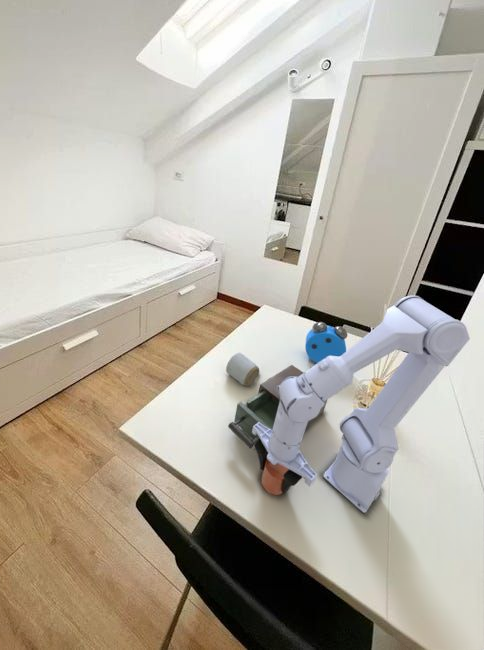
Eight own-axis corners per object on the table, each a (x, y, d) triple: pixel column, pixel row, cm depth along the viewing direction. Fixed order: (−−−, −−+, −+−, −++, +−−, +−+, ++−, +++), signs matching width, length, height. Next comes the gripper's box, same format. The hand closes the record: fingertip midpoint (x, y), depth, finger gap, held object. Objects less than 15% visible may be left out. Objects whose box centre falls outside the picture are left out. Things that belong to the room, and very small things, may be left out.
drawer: (254, 468, 65) (259, 448, 62) (219, 431, 72) (222, 412, 70) (301, 426, 76) (307, 408, 74) (267, 399, 84) (271, 381, 81)
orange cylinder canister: (290, 484, 63) (295, 469, 61) (275, 500, 60) (280, 484, 58) (271, 466, 66) (275, 451, 64) (256, 479, 63) (260, 464, 61)
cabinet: (293, 439, 73) (300, 415, 70) (255, 407, 82) (259, 384, 79) (323, 412, 83) (330, 390, 79) (286, 385, 91) (291, 364, 88)
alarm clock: (338, 360, 106) (350, 325, 100) (340, 371, 101) (352, 334, 95) (302, 351, 109) (311, 316, 104) (301, 360, 104) (311, 324, 98)
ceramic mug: (244, 392, 87) (248, 371, 84) (224, 377, 92) (227, 357, 89) (264, 377, 94) (269, 357, 91) (244, 364, 99) (248, 345, 96)
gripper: (246, 417, 59) (237, 462, 65) (308, 474, 50) (291, 521, 55) (268, 402, 64) (258, 445, 69) (329, 452, 54) (311, 497, 60)
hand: (274, 477), depth 62 cm, fingers closed on orange cylinder canister, 5 cm apart
